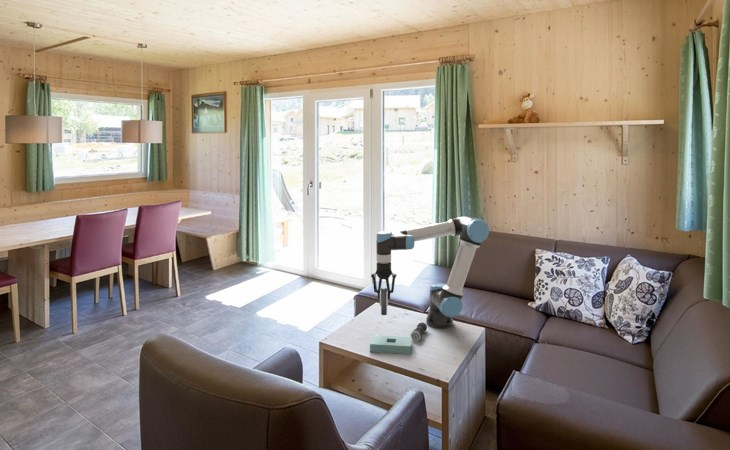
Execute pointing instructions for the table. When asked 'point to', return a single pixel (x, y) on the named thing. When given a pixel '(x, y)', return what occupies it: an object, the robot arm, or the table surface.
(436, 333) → the table surface
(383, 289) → the peg
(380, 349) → the hole block
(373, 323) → the table surface
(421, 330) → the flashlight
